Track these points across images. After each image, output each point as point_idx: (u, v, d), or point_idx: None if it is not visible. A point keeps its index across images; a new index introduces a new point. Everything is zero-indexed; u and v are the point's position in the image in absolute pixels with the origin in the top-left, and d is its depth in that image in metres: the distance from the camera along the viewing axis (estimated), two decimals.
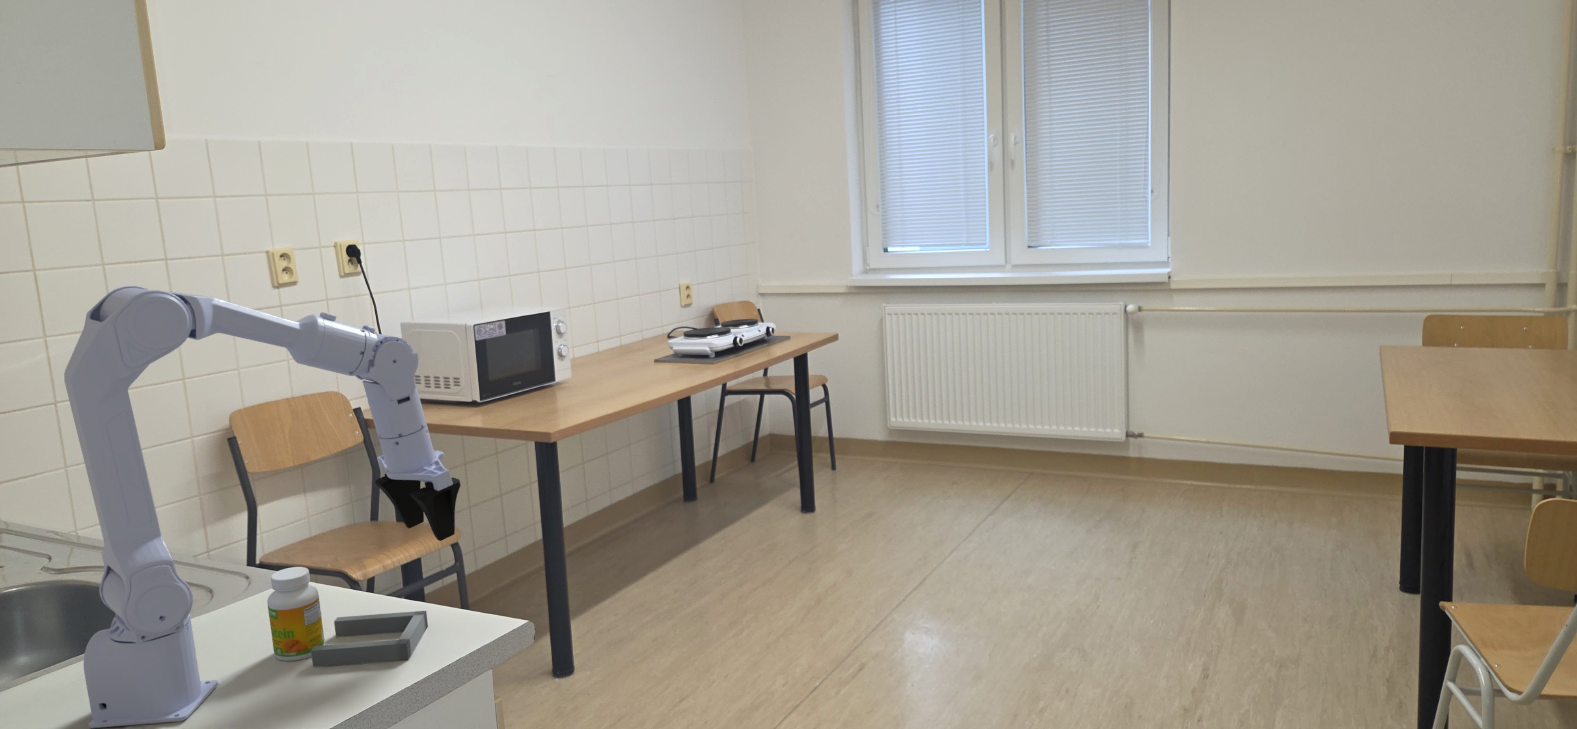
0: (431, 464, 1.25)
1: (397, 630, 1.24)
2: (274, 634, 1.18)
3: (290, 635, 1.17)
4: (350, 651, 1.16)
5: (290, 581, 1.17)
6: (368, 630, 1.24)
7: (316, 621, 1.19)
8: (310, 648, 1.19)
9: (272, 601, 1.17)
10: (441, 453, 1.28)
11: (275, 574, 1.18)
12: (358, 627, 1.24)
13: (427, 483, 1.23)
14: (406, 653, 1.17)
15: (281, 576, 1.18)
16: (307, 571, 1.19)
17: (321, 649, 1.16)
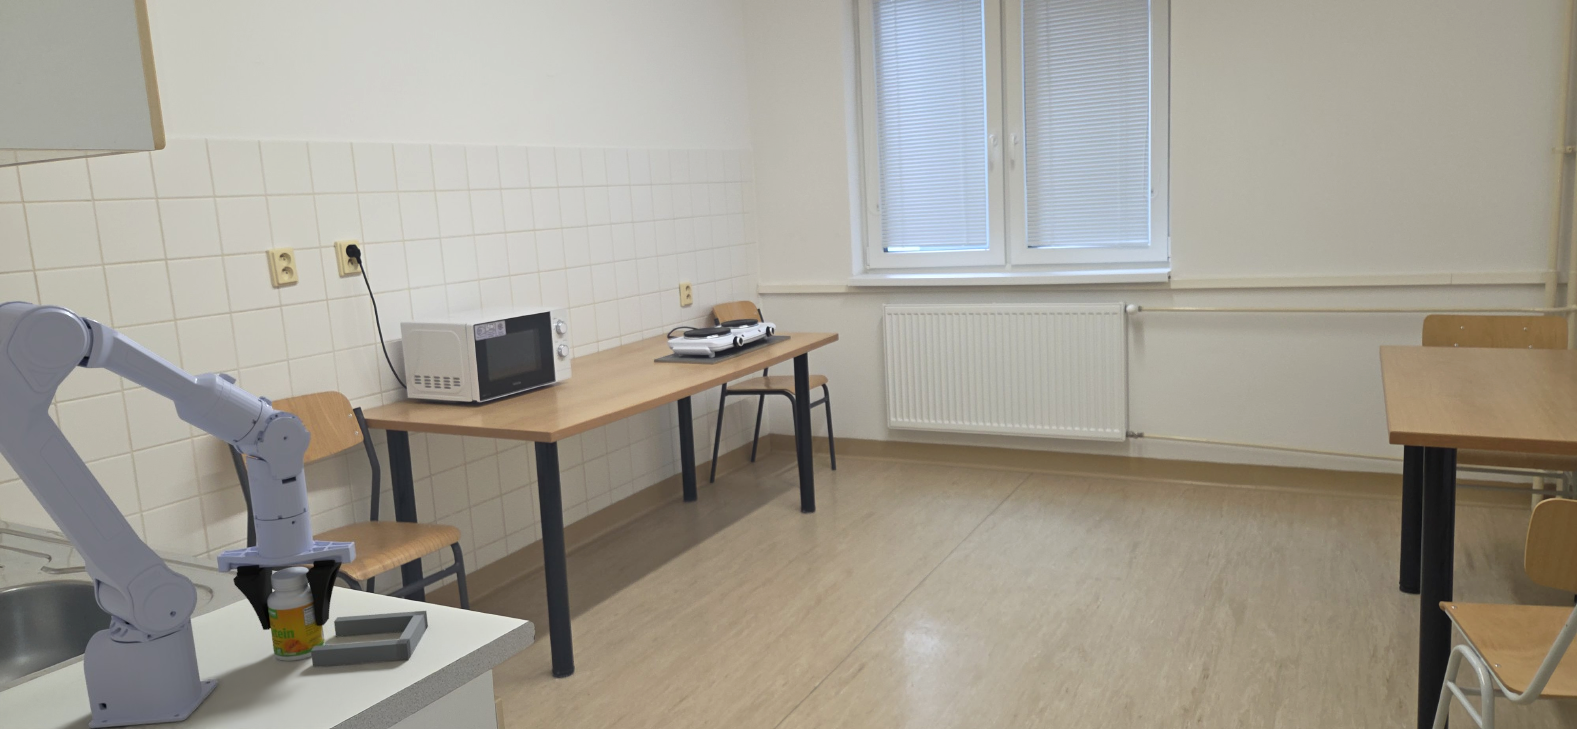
0: (313, 545, 1.19)
1: (397, 630, 1.24)
2: (274, 634, 1.18)
3: (290, 635, 1.17)
4: (350, 651, 1.16)
5: (290, 581, 1.17)
6: (368, 630, 1.24)
7: None
8: (310, 648, 1.19)
9: (272, 601, 1.17)
10: None
11: (275, 574, 1.18)
12: (358, 627, 1.24)
13: (325, 561, 1.18)
14: (406, 653, 1.17)
15: (281, 576, 1.18)
16: (307, 571, 1.19)
17: (321, 649, 1.16)
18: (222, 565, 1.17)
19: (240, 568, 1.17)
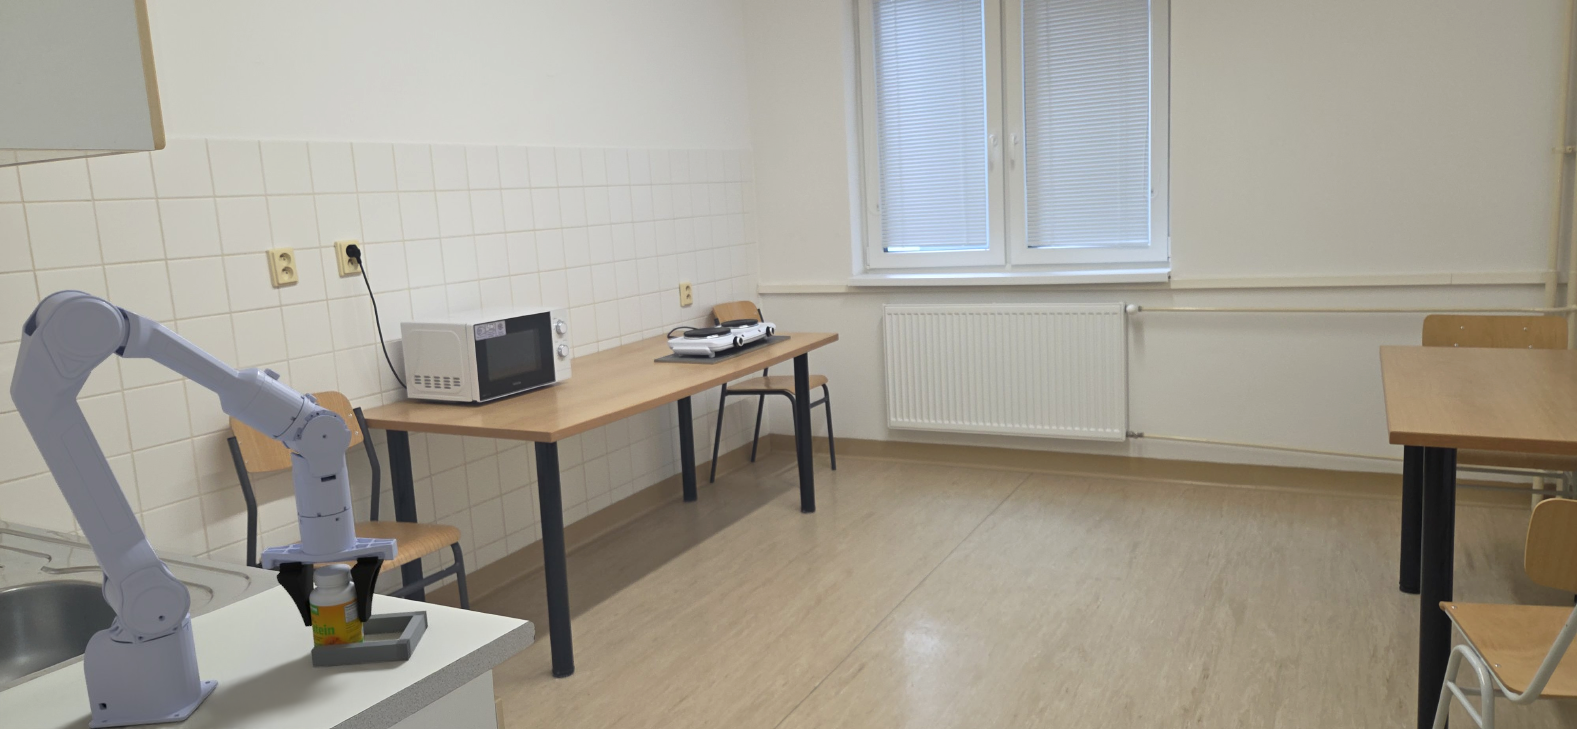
0: (356, 542, 1.20)
1: (397, 630, 1.24)
2: (315, 630, 1.18)
3: (330, 632, 1.17)
4: (350, 651, 1.16)
5: (332, 578, 1.17)
6: (368, 630, 1.24)
7: (356, 619, 1.19)
8: None
9: (314, 598, 1.17)
10: None
11: (318, 570, 1.19)
12: None
13: (368, 558, 1.18)
14: (406, 653, 1.17)
15: (324, 572, 1.18)
16: (349, 569, 1.19)
17: (321, 649, 1.16)
18: (266, 562, 1.17)
19: (283, 565, 1.18)
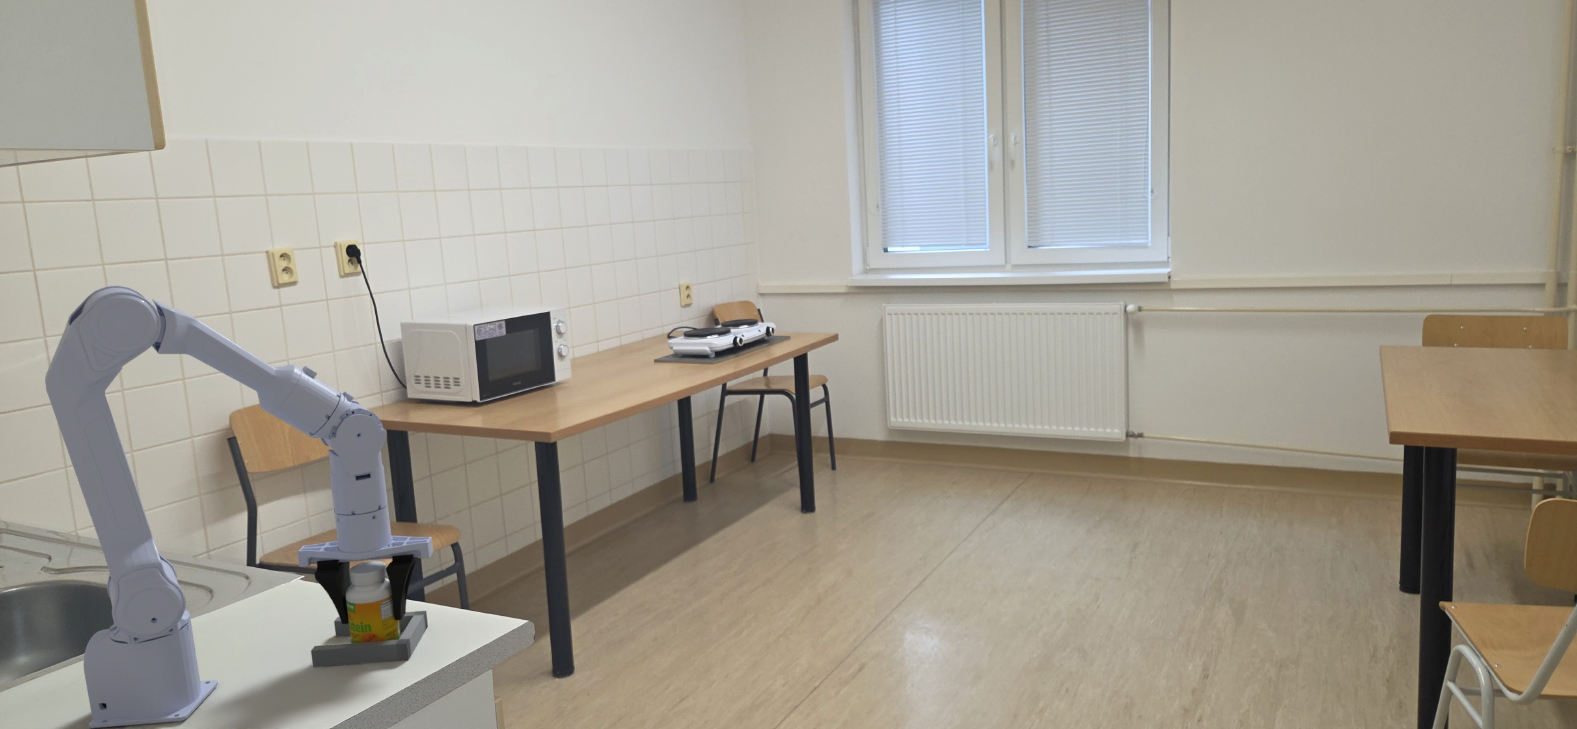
0: (391, 540, 1.20)
1: None
2: (351, 628, 1.18)
3: (367, 629, 1.18)
4: (350, 651, 1.16)
5: (368, 575, 1.17)
6: None
7: (392, 615, 1.20)
8: None
9: (350, 595, 1.18)
10: None
11: (353, 568, 1.19)
12: None
13: (404, 556, 1.19)
14: (406, 653, 1.17)
15: (359, 570, 1.18)
16: (384, 566, 1.19)
17: (321, 649, 1.16)
18: (302, 560, 1.17)
19: (320, 563, 1.18)
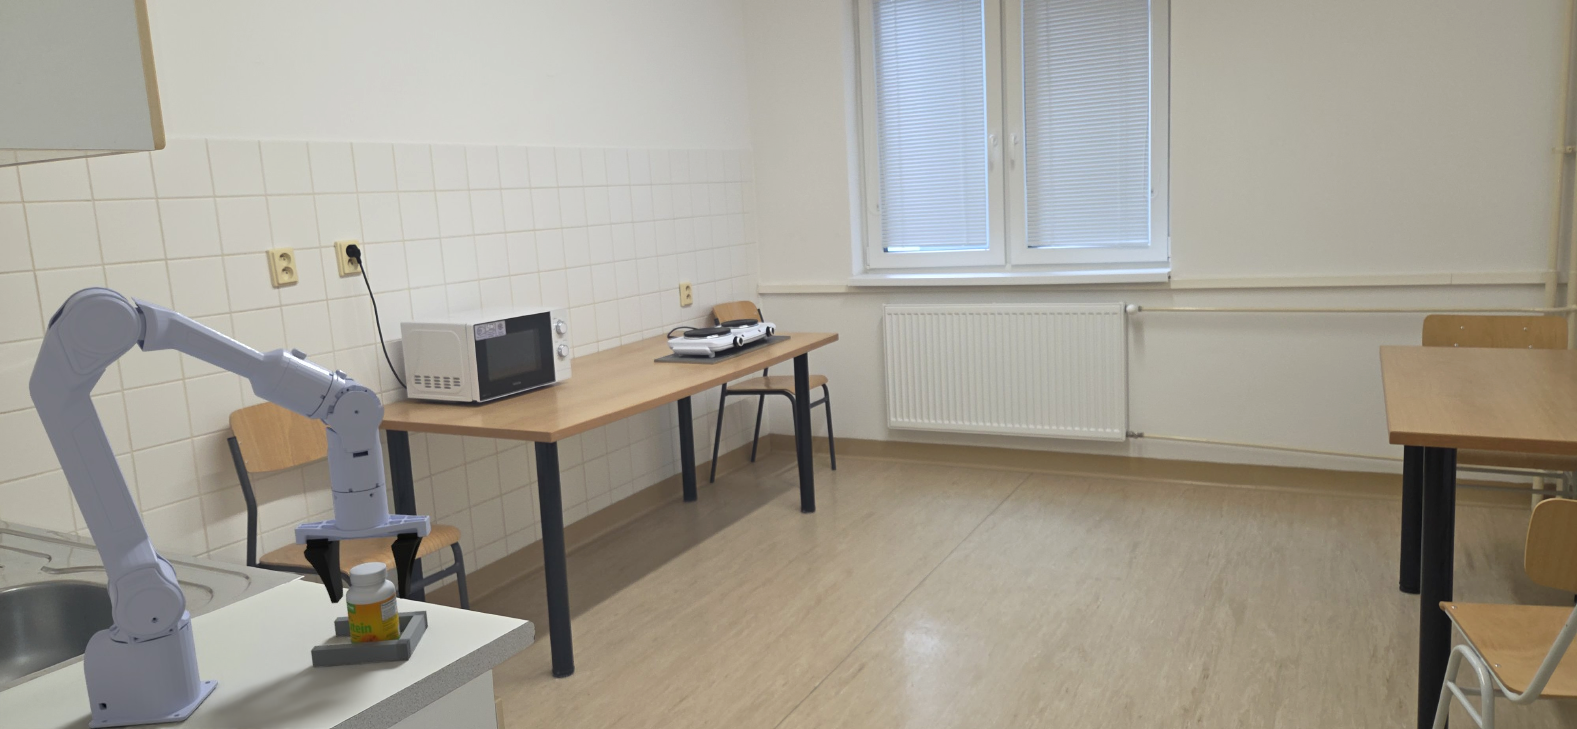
0: (389, 518, 1.20)
1: None
2: (352, 629, 1.18)
3: (367, 630, 1.18)
4: (350, 651, 1.16)
5: (368, 576, 1.17)
6: None
7: (392, 616, 1.20)
8: None
9: (351, 596, 1.18)
10: None
11: (353, 569, 1.19)
12: None
13: (401, 534, 1.18)
14: (406, 653, 1.17)
15: (360, 571, 1.18)
16: (385, 567, 1.19)
17: (321, 649, 1.16)
18: (299, 538, 1.17)
19: (317, 541, 1.17)
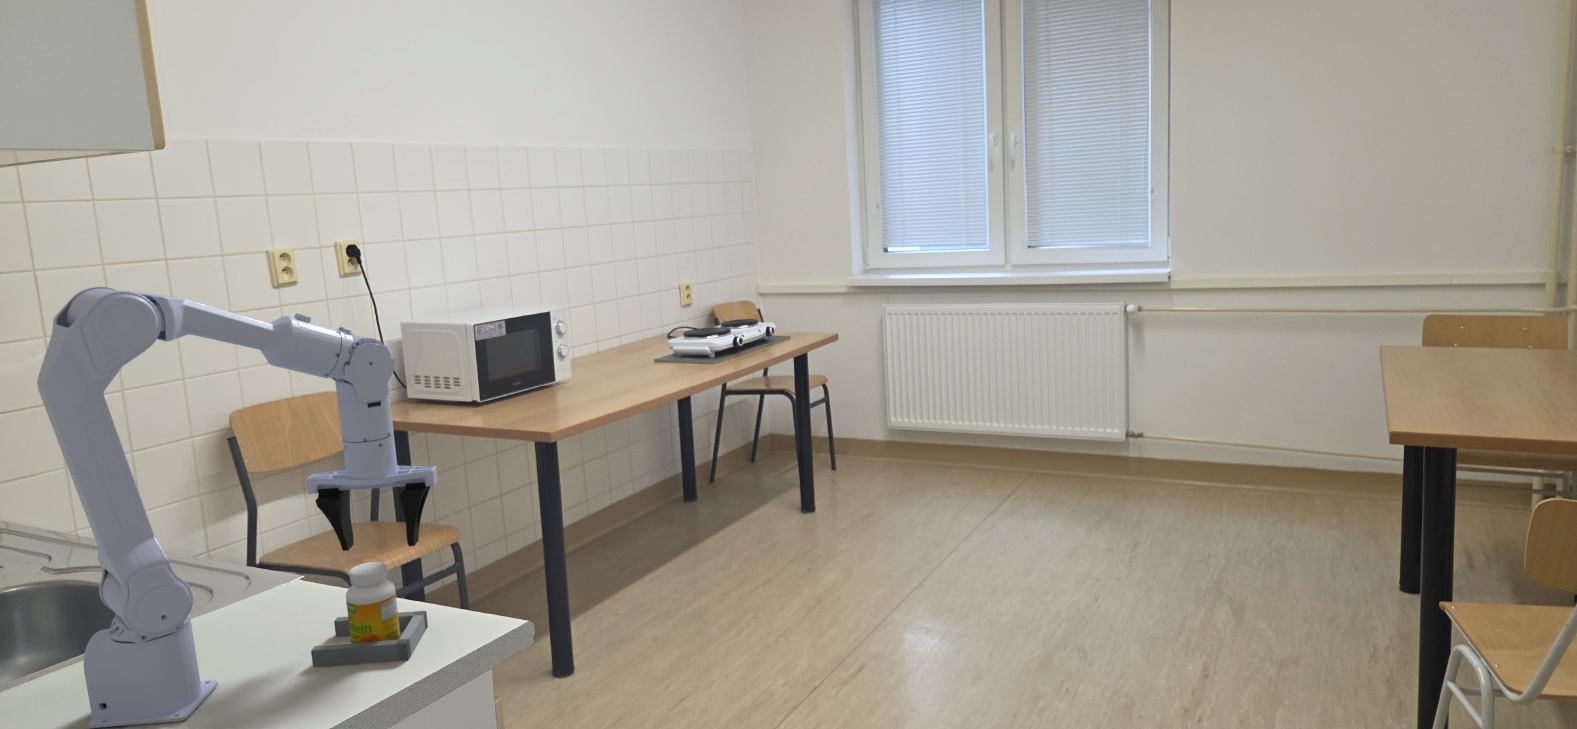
0: (397, 469, 1.24)
1: None
2: (352, 629, 1.18)
3: (367, 630, 1.18)
4: (350, 651, 1.16)
5: (368, 576, 1.17)
6: None
7: (392, 617, 1.20)
8: None
9: (351, 596, 1.18)
10: None
11: (353, 569, 1.19)
12: None
13: (410, 484, 1.23)
14: (406, 653, 1.17)
15: (359, 571, 1.18)
16: (385, 567, 1.19)
17: (321, 649, 1.16)
18: (311, 487, 1.21)
19: (328, 490, 1.22)
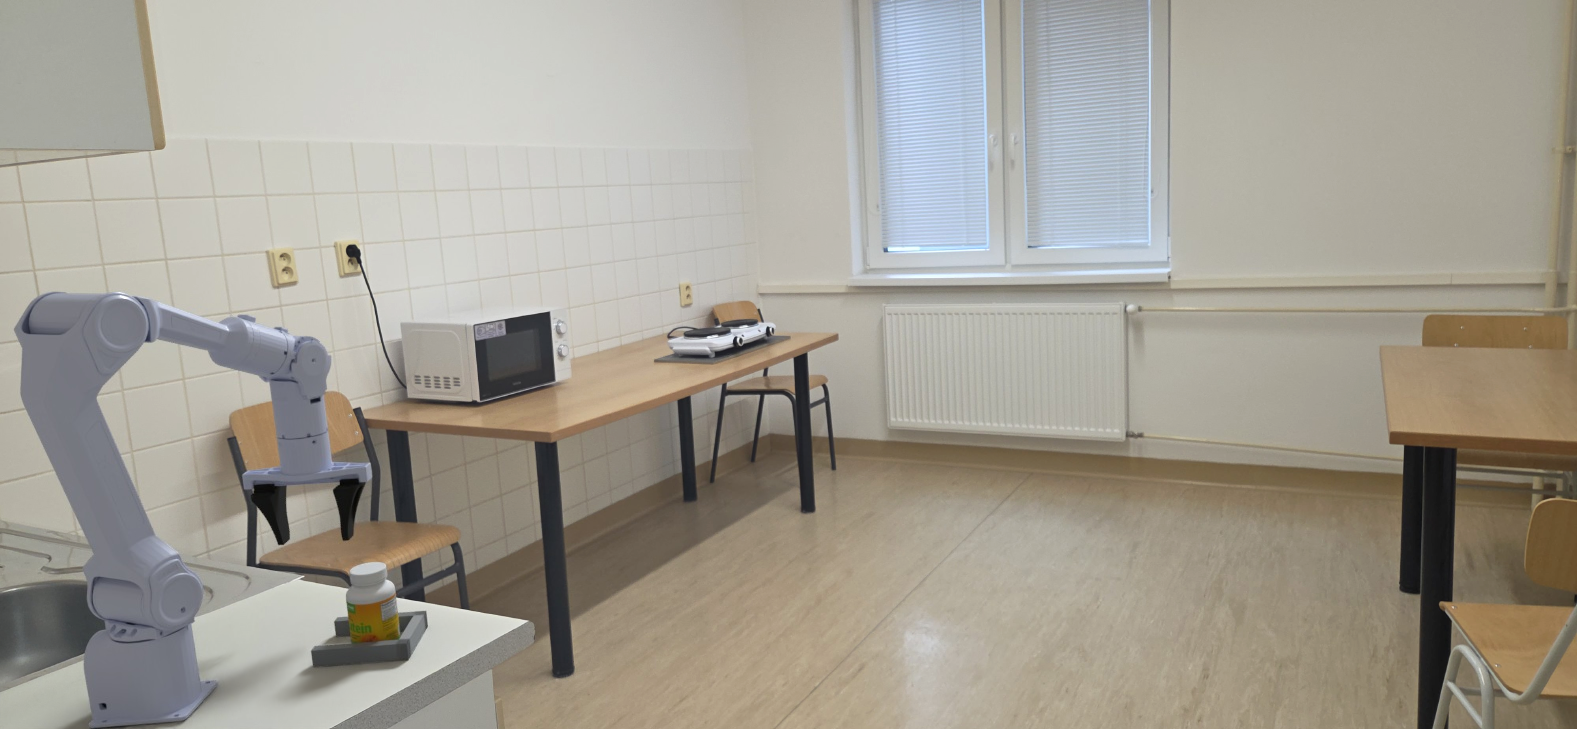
0: (332, 465, 1.27)
1: None
2: (352, 629, 1.18)
3: (367, 630, 1.18)
4: (350, 651, 1.16)
5: (368, 576, 1.17)
6: None
7: (392, 617, 1.20)
8: None
9: (351, 596, 1.18)
10: None
11: (353, 569, 1.19)
12: None
13: (343, 480, 1.26)
14: (406, 653, 1.17)
15: (359, 571, 1.18)
16: (385, 567, 1.19)
17: (321, 649, 1.16)
18: (247, 483, 1.24)
19: (264, 486, 1.25)
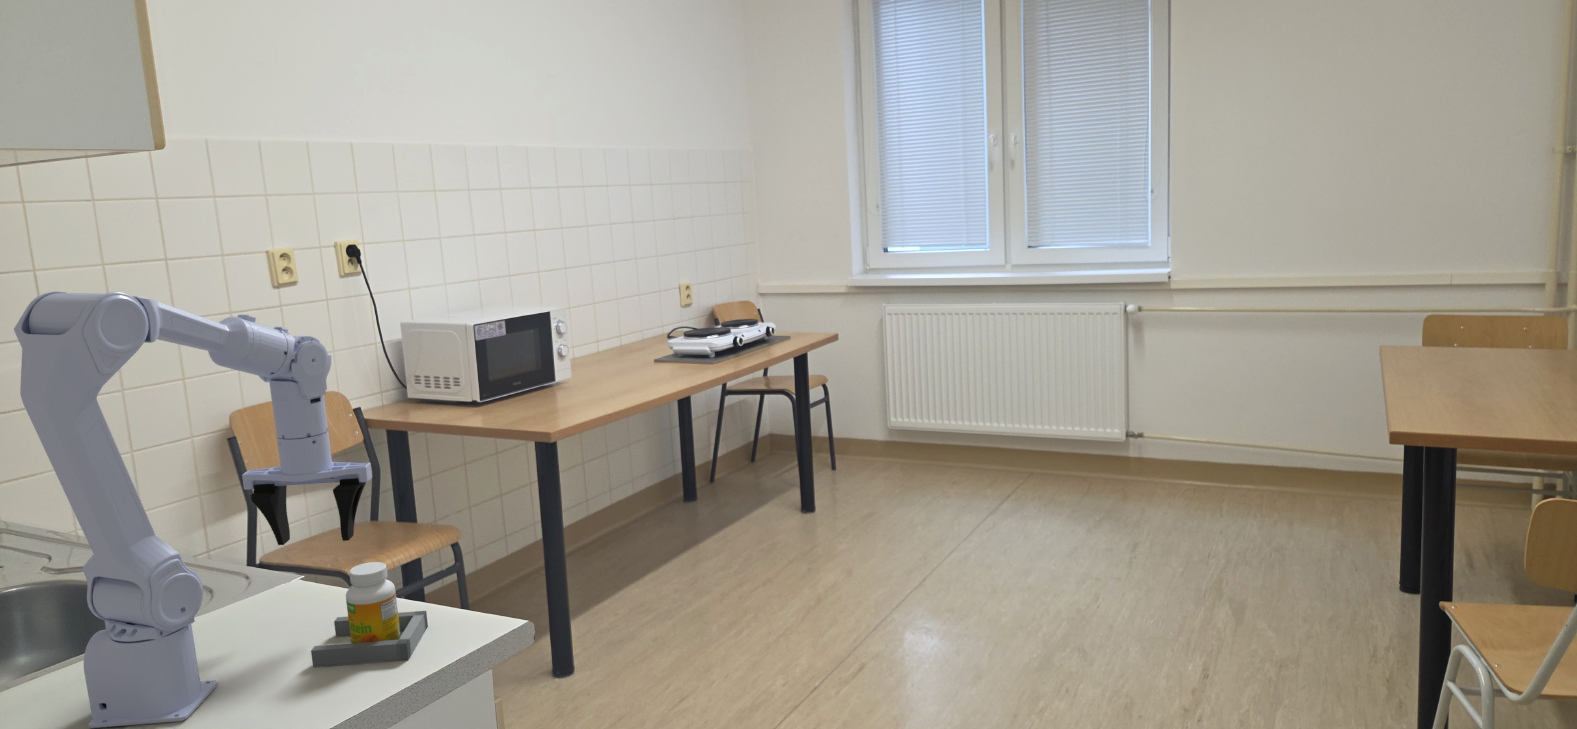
0: (332, 465, 1.27)
1: None
2: (352, 629, 1.18)
3: (367, 630, 1.18)
4: (350, 651, 1.16)
5: (368, 576, 1.17)
6: None
7: (392, 616, 1.20)
8: None
9: (351, 596, 1.18)
10: None
11: (353, 569, 1.19)
12: None
13: (343, 480, 1.26)
14: (406, 653, 1.17)
15: (360, 571, 1.18)
16: (385, 567, 1.19)
17: (321, 649, 1.16)
18: (247, 483, 1.24)
19: (264, 486, 1.25)
